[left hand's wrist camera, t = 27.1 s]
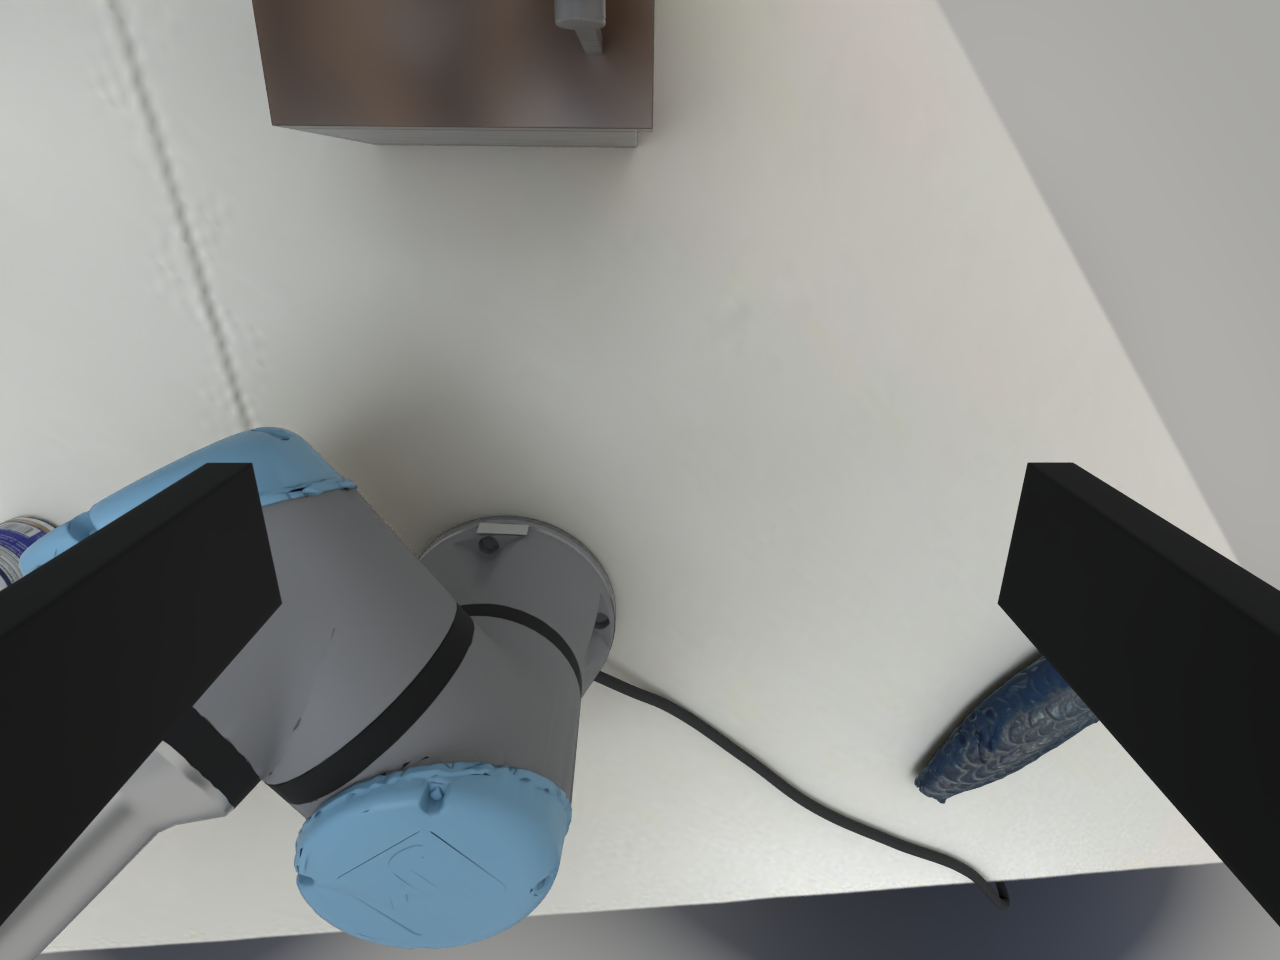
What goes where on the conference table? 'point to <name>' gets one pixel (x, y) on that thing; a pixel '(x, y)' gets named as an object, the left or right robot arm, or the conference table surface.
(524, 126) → the lid
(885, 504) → the conference table surface
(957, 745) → the fish model
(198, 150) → the conference table surface
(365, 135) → the chest
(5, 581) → the pill bottle
